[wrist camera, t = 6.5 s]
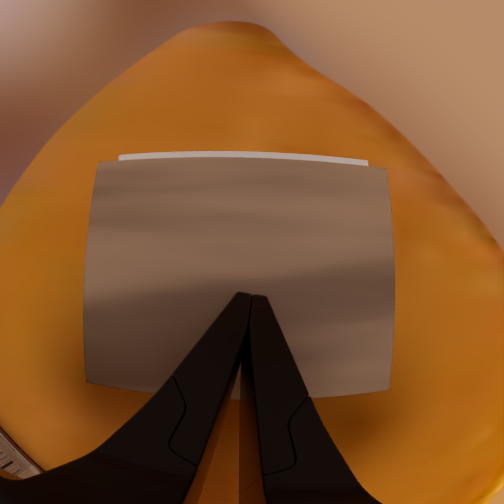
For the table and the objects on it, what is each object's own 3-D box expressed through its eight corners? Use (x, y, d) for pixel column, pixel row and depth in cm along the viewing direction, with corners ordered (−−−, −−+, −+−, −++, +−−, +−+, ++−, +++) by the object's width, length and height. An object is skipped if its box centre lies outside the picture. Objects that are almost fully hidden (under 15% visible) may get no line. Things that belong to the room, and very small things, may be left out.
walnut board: (388, 389, 10) (386, 168, 11) (86, 382, 10) (98, 162, 11) (355, 368, 14) (354, 196, 15) (122, 362, 14) (129, 191, 15)
